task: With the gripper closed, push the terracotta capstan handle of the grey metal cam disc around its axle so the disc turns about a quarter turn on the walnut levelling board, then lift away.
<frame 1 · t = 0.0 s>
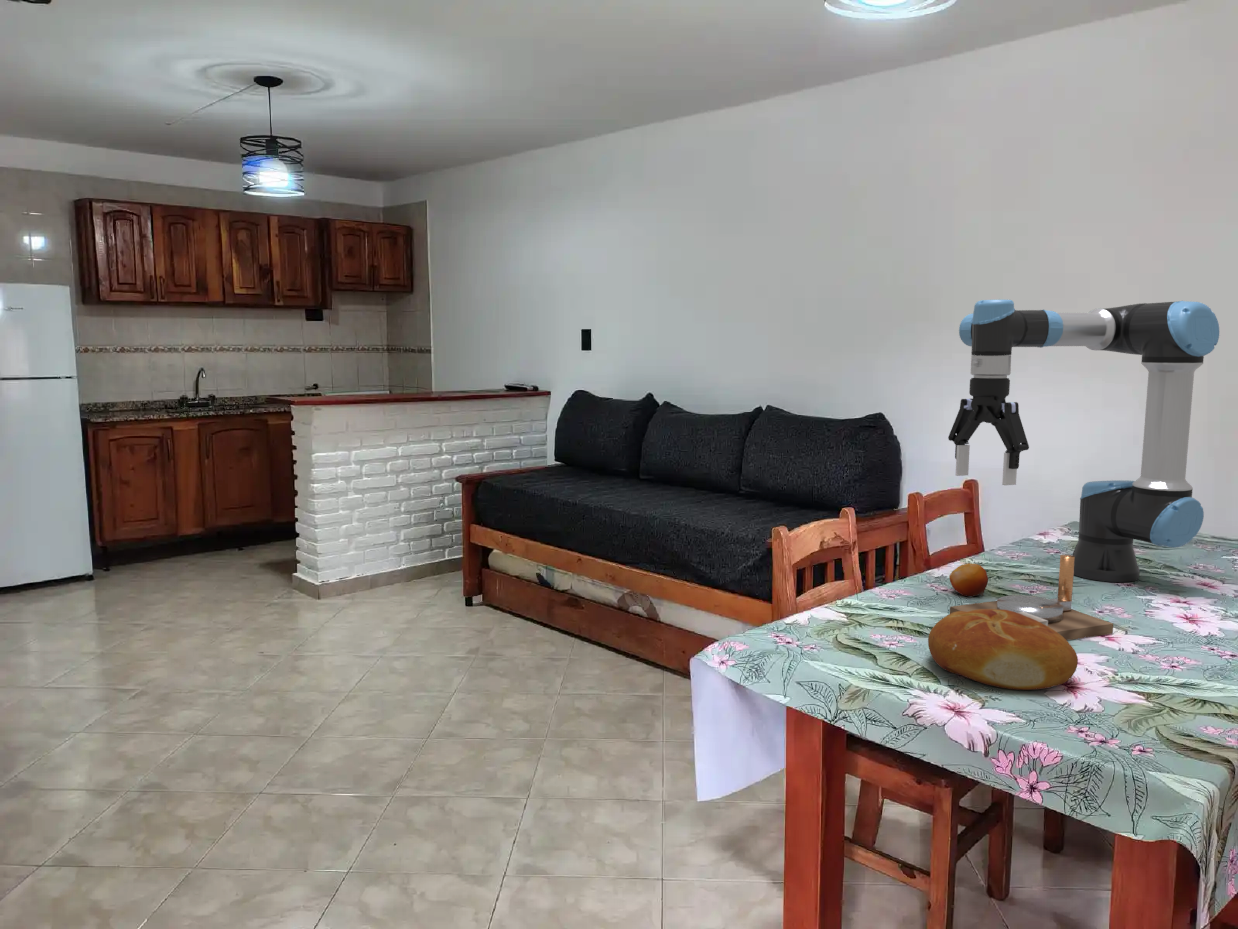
hand: (984, 480, 182), 28 cm above the table, tool pointing down, fingers open, 13 cm apart
bread: (997, 673, 152), on the table
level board: (1028, 624, 177), on the table
fruit: (968, 594, 199), on the table
cam disc: (1039, 585, 176), point 8 cm above the table, hinge at 0.0°
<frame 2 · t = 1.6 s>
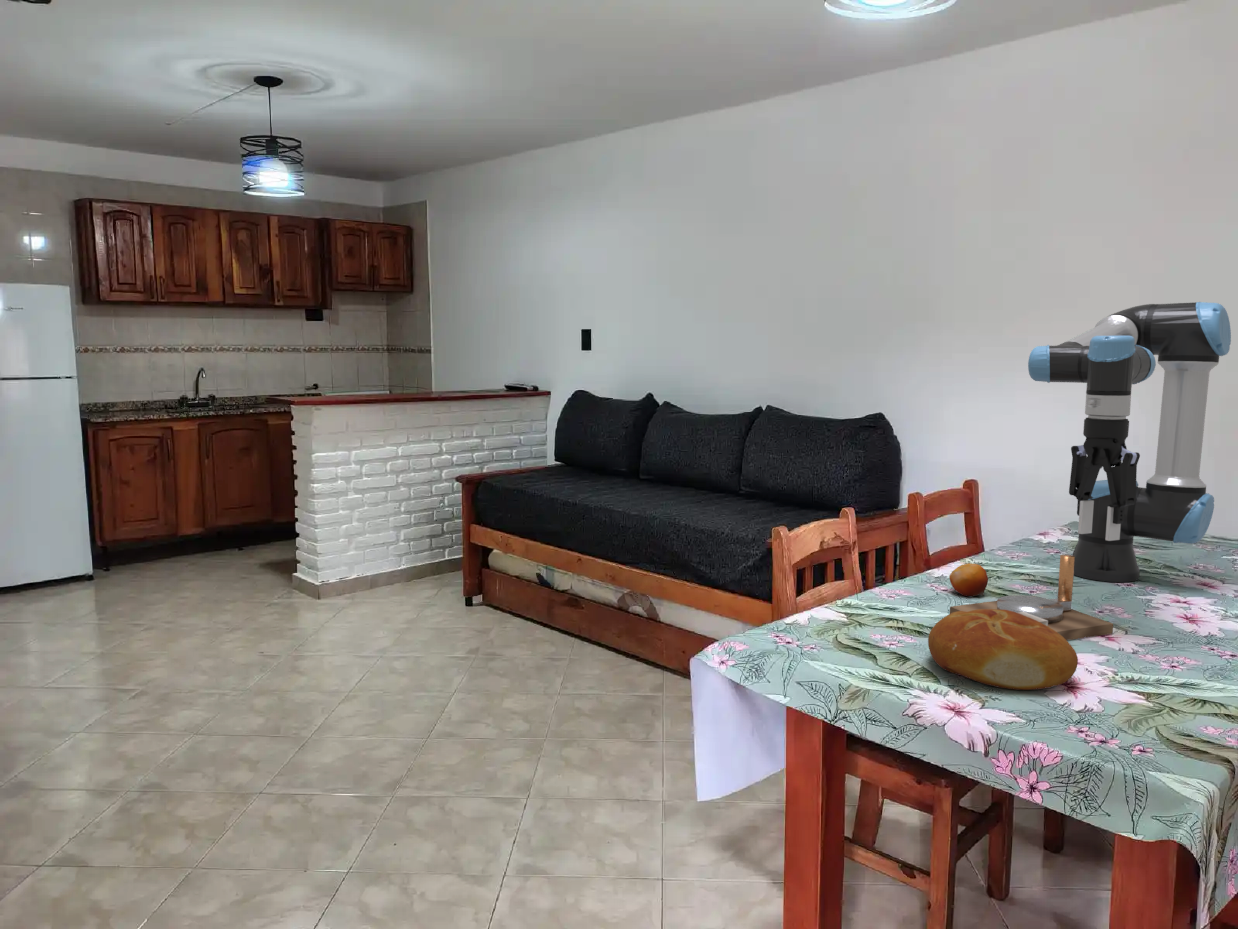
hand: (1098, 536, 170), 19 cm above the table, tool pointing down, fingers open, 6 cm apart
nothing on the table moved.
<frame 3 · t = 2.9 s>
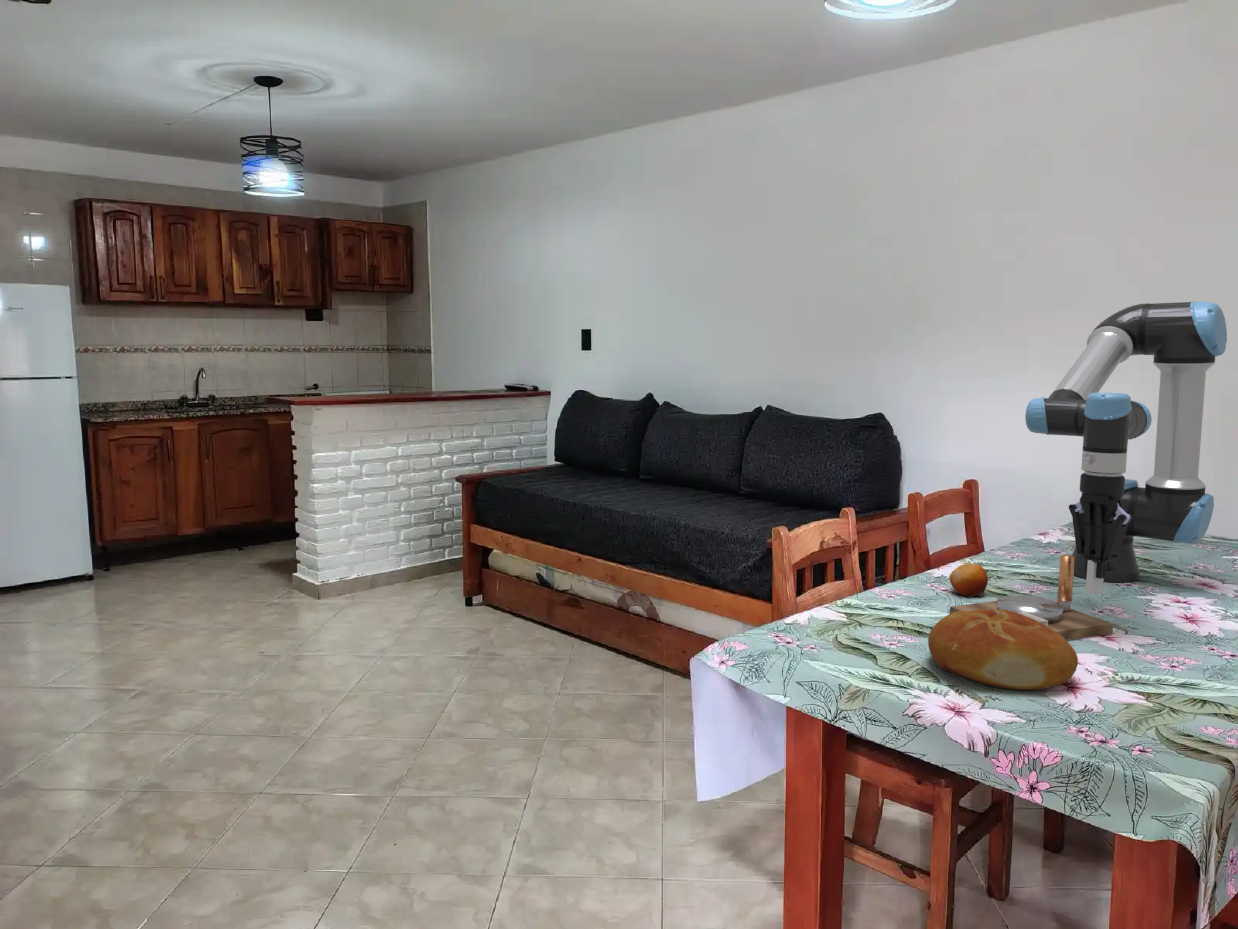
hand: (1093, 593, 172), 8 cm above the table, tool pointing down, fingers closed
nothing on the table moved.
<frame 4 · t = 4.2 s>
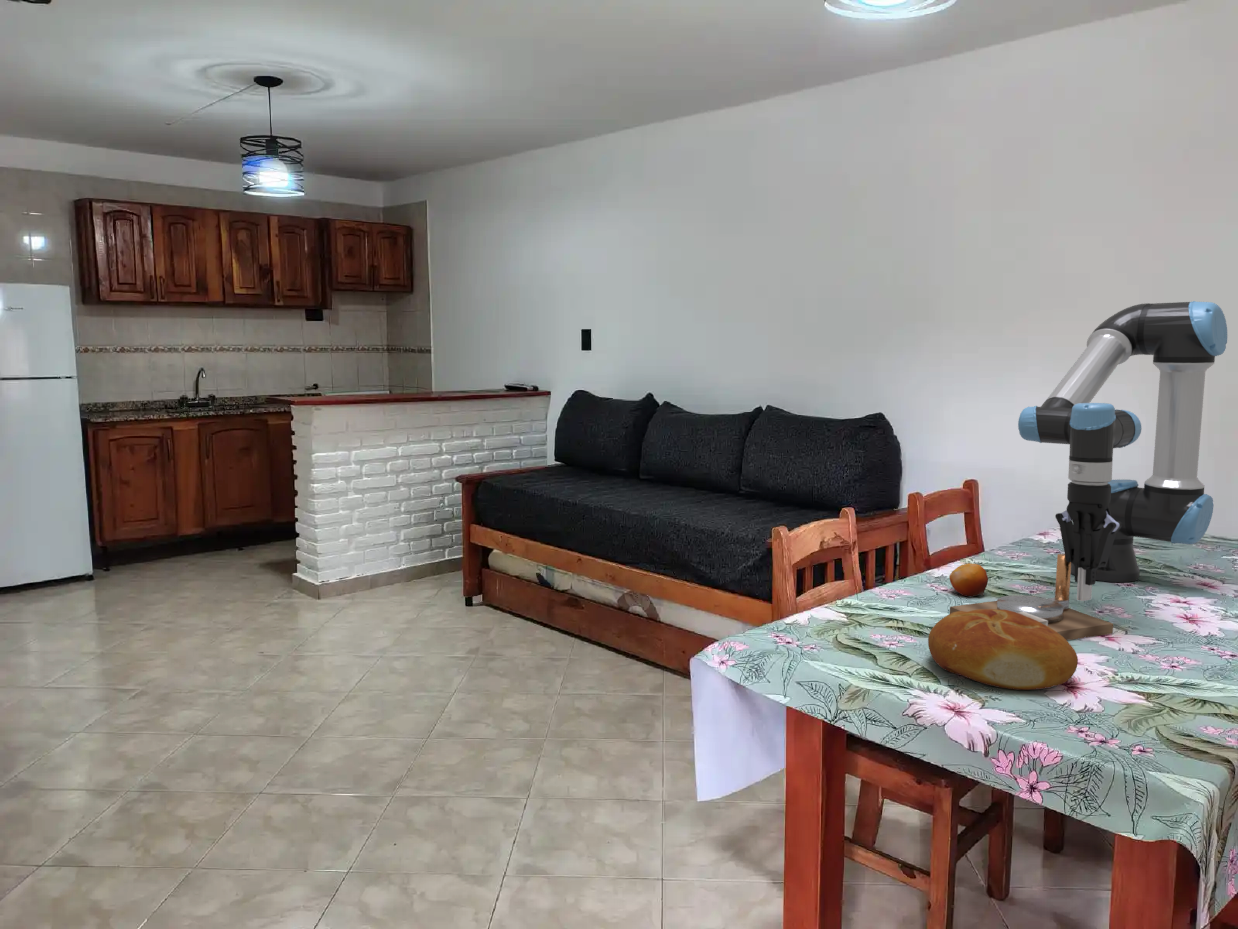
hand: (1084, 599, 175), 5 cm above the table, tool pointing down, fingers closed
cam disc: (1038, 585, 176), point 8 cm above the table, hinge at 4.5°, touching hand
everything else where it was.
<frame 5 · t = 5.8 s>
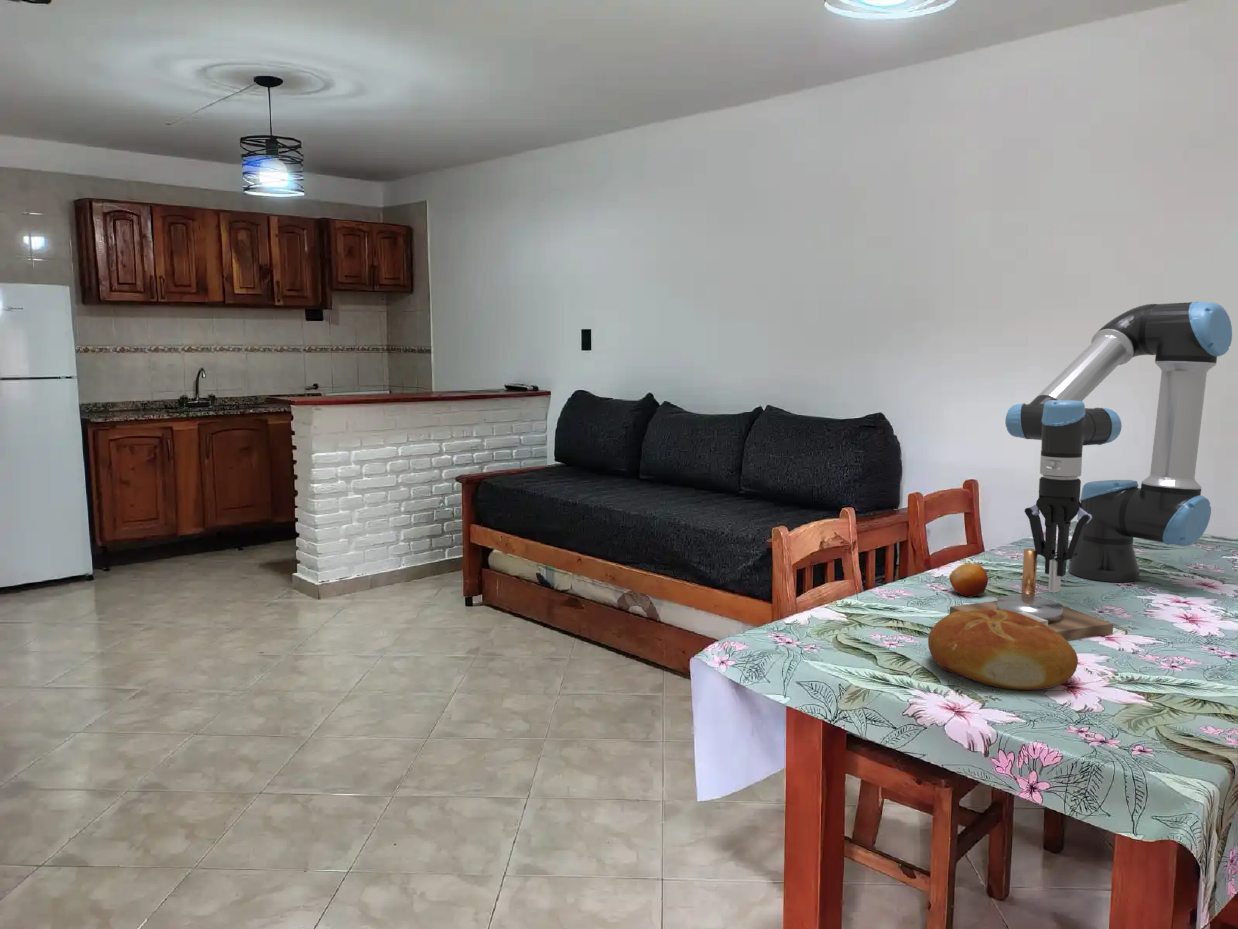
hand: (1054, 590, 181), 6 cm above the table, tool pointing down, fingers closed
cam disc: (1030, 584, 178), point 8 cm above the table, hinge at 47.7°, touching gripper, hand
everything else where it was.
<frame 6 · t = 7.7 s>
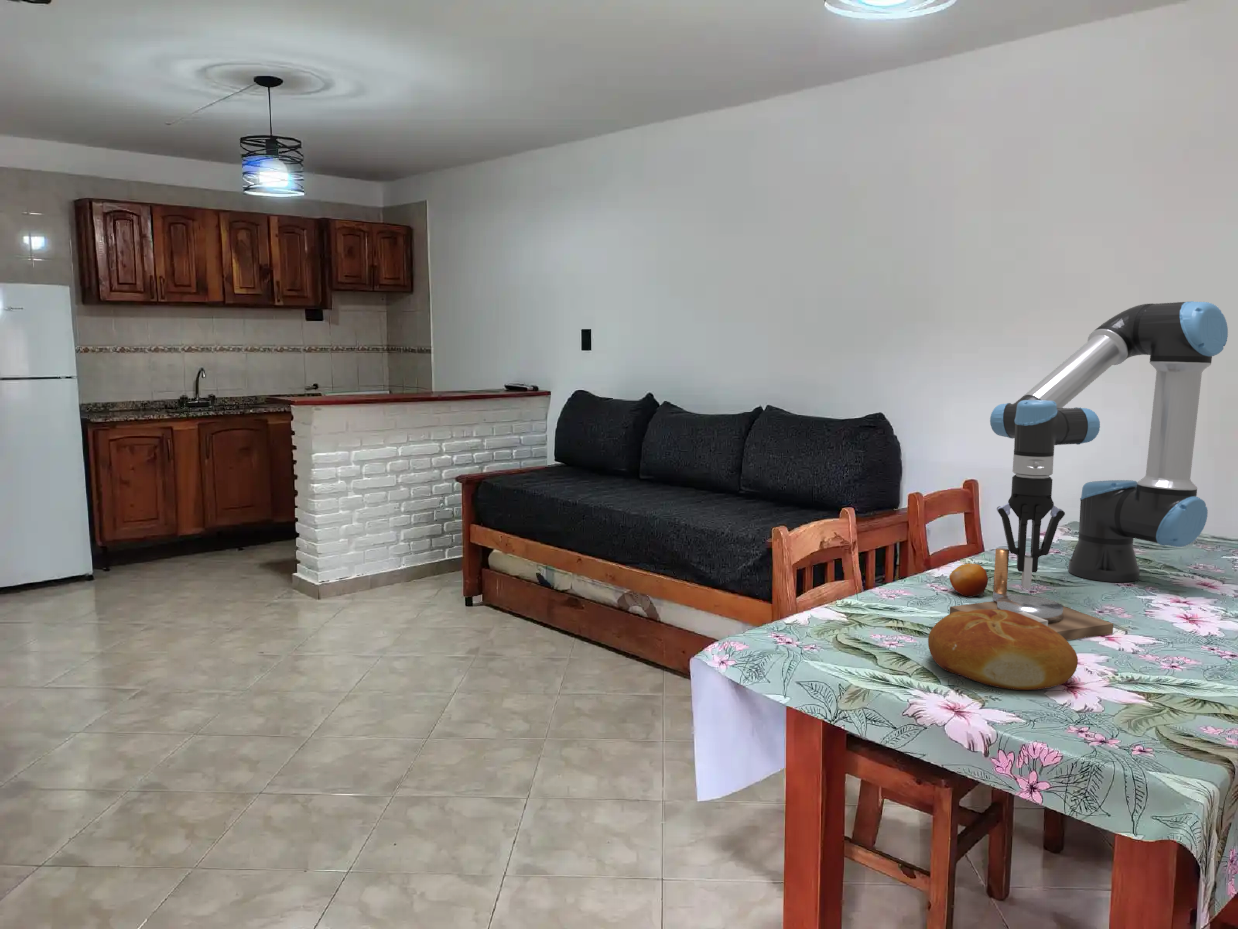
hand: (1026, 586, 184), 5 cm above the table, tool pointing down, fingers closed
cam disc: (1023, 584, 178), point 8 cm above the table, hinge at 84.8°
everything else where it was.
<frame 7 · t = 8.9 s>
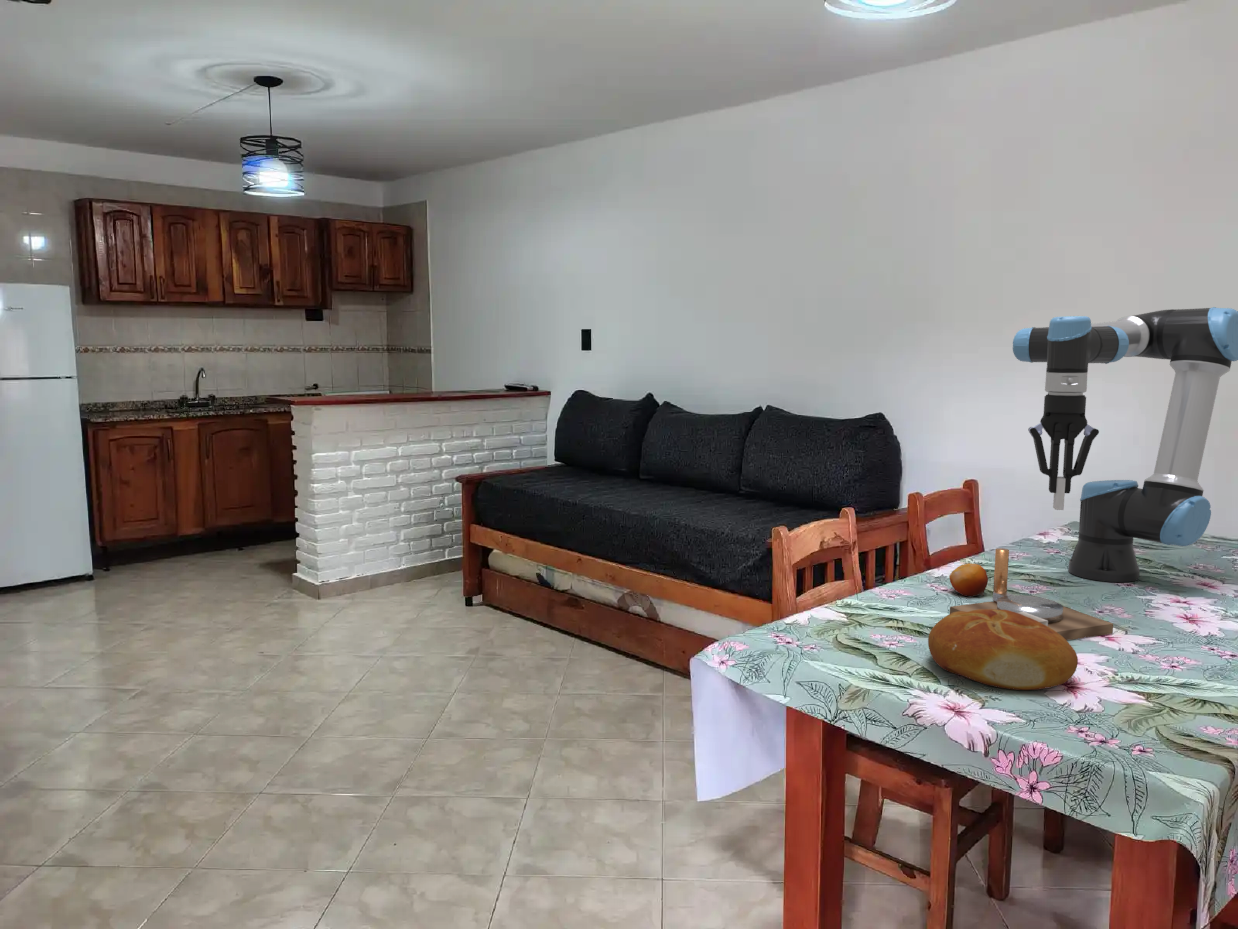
hand: (1058, 508, 181), 22 cm above the table, tool pointing down, fingers closed
nothing on the table moved.
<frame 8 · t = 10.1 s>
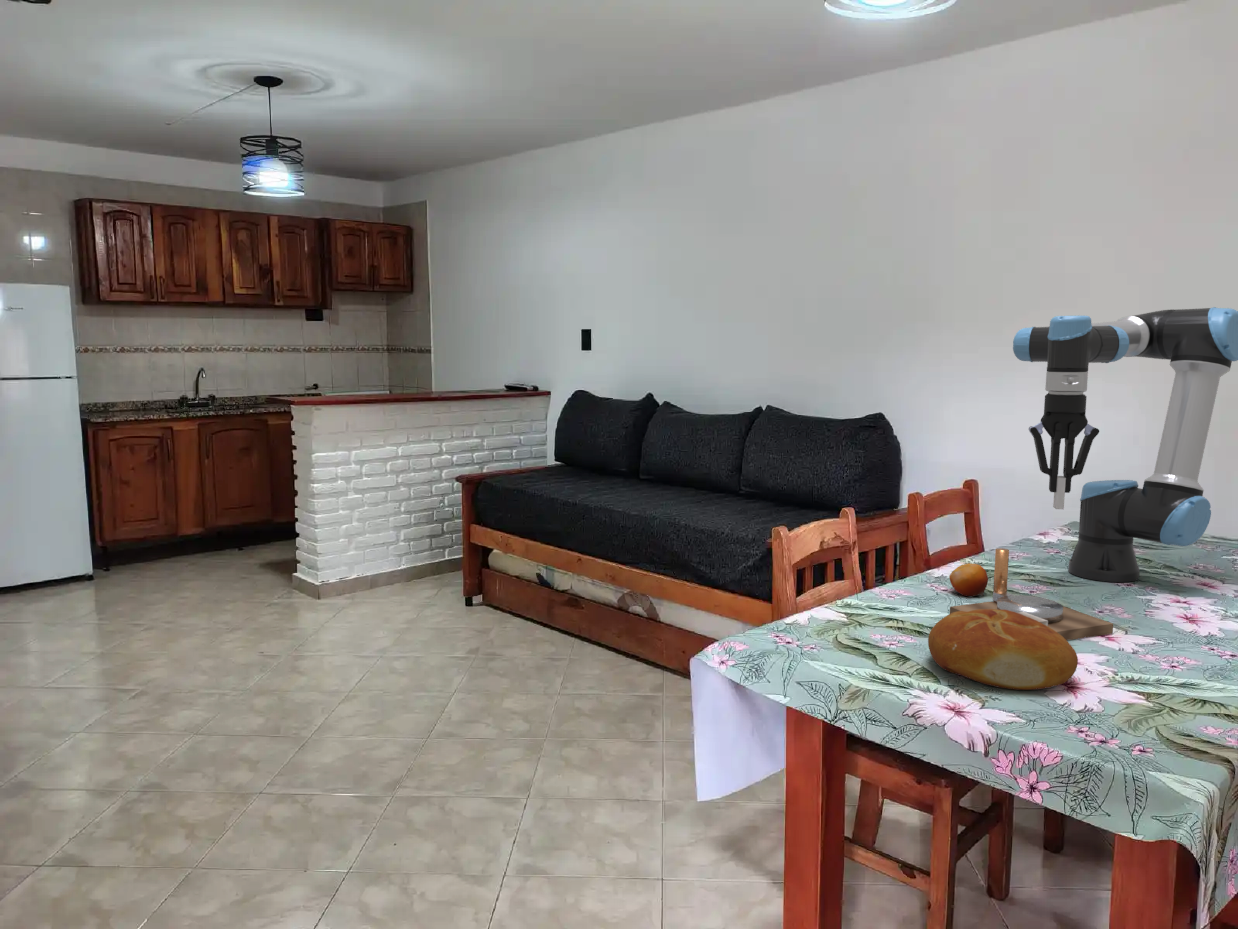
hand: (1058, 508, 181), 22 cm above the table, tool pointing down, fingers closed
nothing on the table moved.
at the end: cam disc at +85° (first picture: +0°); fruit moved 0.3 cm from its start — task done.
